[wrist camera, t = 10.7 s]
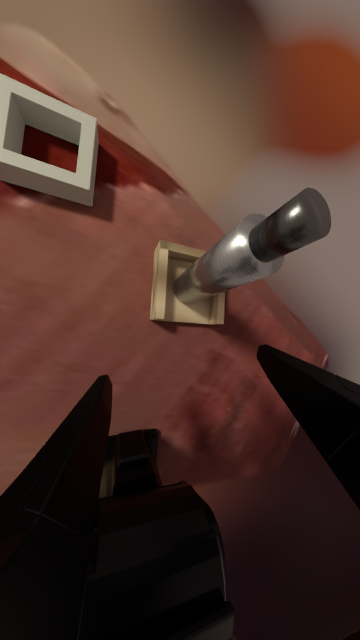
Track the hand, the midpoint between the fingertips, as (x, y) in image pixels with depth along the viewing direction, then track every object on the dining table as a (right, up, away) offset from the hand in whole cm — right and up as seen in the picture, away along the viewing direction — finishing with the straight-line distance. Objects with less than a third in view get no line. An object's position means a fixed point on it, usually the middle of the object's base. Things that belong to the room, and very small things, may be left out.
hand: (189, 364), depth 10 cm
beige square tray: (0, +7, +13) cm, 15 cm away
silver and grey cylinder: (0, +7, +12) cm, 14 cm away
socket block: (-14, +20, +8) cm, 26 cm away
